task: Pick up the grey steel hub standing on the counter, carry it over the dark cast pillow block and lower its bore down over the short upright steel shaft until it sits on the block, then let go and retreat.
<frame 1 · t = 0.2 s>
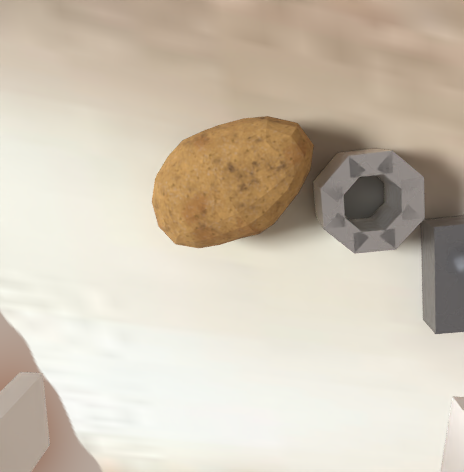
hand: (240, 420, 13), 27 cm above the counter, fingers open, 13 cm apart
potato: (235, 175, 39), on the counter
hub: (358, 194, 38), on the counter
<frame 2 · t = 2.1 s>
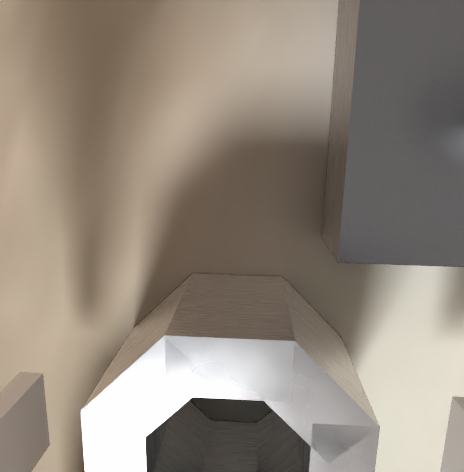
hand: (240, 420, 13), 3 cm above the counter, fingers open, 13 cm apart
hub: (234, 371, 16), on the counter
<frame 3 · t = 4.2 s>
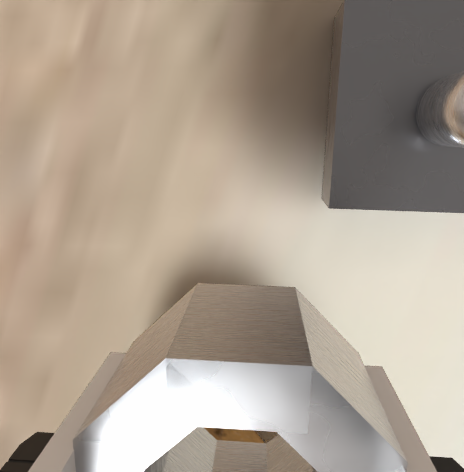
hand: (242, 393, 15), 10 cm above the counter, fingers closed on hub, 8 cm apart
potato: (211, 443, 27), on the counter
pillow block: (427, 114, 21), on the counter
hub: (243, 388, 15), point 10 cm above the counter, touching gripper
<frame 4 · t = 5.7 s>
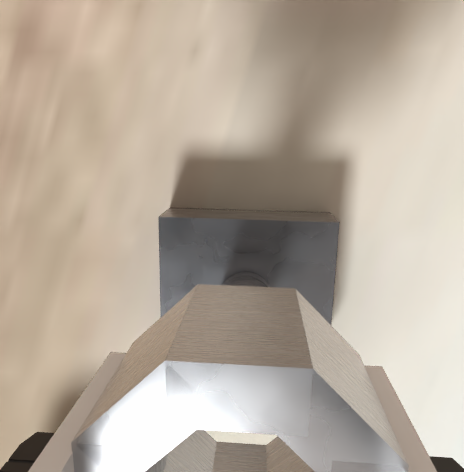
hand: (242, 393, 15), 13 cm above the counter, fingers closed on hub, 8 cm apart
pillow block: (247, 278, 27), on the counter
hub: (243, 390, 15), point 12 cm above the counter, touching gripper
when the fingers open (4 cm above the counter, at t = 7.6 s): hub stays where it is, resting on pillow block.
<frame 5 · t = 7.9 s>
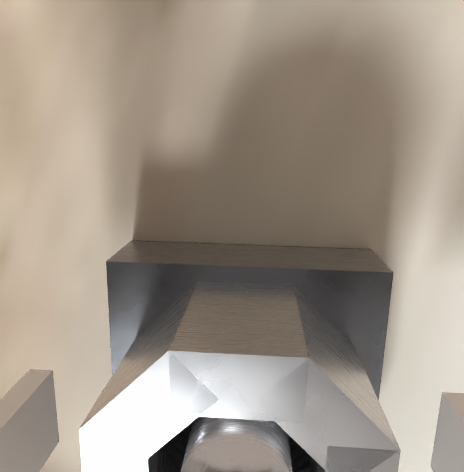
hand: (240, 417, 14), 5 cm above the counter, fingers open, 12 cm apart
pillow block: (246, 342, 18), on the counter
hub: (242, 383, 16), point 3 cm above the counter, touching pillow block
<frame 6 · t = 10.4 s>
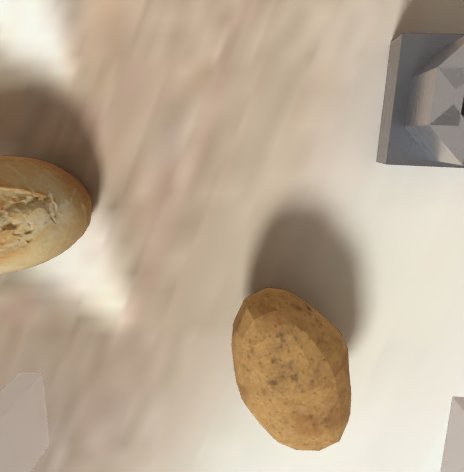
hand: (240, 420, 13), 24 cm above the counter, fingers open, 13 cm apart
bread roll: (23, 208, 38), on the counter
potato: (287, 338, 39), on the counter
pillow block: (449, 106, 32), on the counter
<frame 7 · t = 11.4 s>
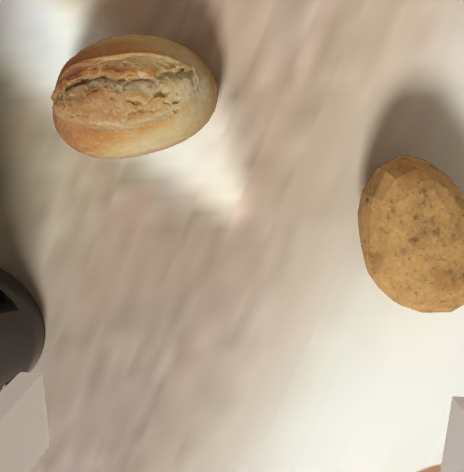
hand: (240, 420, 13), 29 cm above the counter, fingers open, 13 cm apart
bread roll: (142, 102, 39), on the counter
potato: (399, 223, 40), on the counter
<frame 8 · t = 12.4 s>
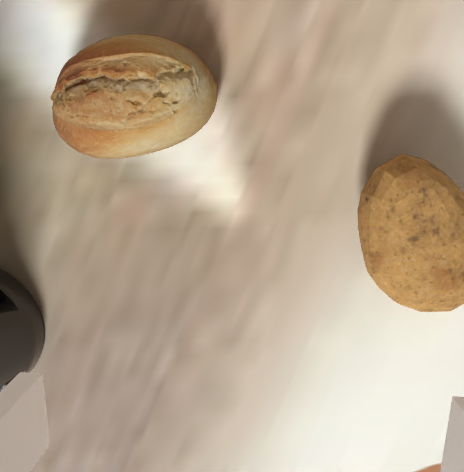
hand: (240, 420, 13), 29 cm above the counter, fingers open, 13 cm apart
bread roll: (141, 102, 40), on the counter
potato: (398, 222, 40), on the counter
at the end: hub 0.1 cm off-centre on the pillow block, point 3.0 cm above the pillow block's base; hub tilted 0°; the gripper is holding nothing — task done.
